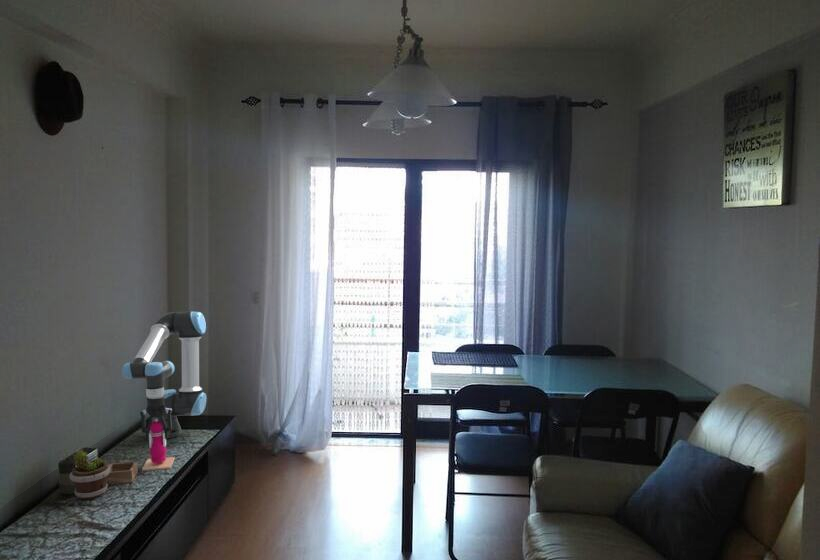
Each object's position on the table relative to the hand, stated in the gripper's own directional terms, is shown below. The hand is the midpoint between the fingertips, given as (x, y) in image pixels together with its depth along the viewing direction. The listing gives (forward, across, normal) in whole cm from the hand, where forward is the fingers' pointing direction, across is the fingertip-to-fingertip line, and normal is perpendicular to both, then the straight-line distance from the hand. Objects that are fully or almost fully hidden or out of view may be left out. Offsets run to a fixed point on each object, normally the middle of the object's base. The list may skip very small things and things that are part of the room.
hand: (157, 446), depth 286 cm
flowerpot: (+9, -21, -28) cm, 36 cm away
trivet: (+9, 0, 0) cm, 9 cm away
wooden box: (+9, -13, -13) cm, 20 cm away
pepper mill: (+7, 0, 0) cm, 7 cm away
